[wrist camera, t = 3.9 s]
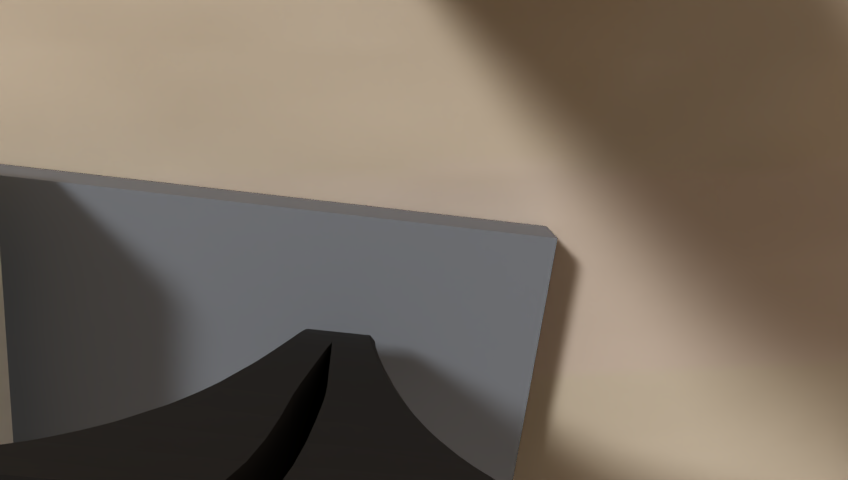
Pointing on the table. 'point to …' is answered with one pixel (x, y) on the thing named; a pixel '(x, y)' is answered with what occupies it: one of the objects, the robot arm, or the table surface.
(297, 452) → the robot arm
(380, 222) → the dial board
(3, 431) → the peg
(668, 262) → the table surface
